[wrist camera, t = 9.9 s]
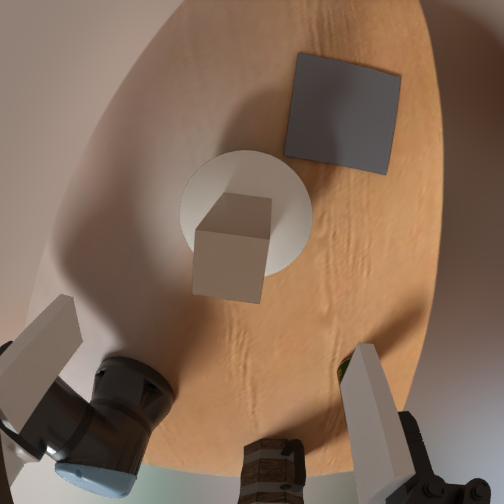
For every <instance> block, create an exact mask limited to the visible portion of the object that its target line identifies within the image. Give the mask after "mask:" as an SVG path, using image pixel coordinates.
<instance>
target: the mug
mask: <svg viewBox="0 0 504 504" xmlns="http://www.w3.org/2000/svg"><path fill="white" fill-rule="evenodd" d="M305 481H306V469H305V455H304V446H303V444H302V442H301V441H300V440H298V439H293V440H290V441H289V440H287V439H260V440H258V441H256V442H253V443H251V444H249V445H246V446H244V461H243V467H242V472H241V487H240V496H239V500H238V504H304V500H303V487H304V486H305Z"/></svg>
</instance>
